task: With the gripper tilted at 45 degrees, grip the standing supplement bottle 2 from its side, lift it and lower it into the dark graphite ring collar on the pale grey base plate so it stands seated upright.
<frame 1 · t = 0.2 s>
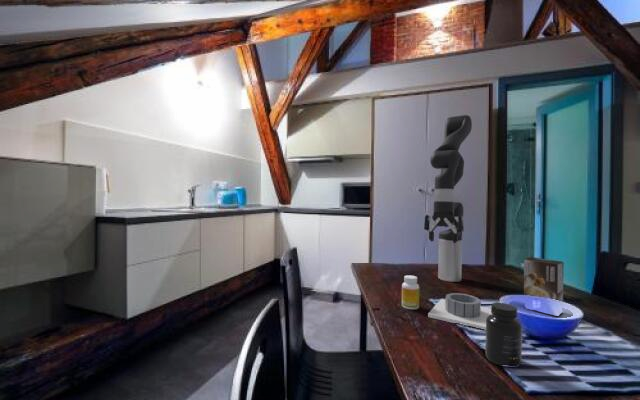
hand: (443, 242, 118), 18 cm above the table, tool pointing down, fingers open, 8 cm apart
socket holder: (462, 314, 91), on the table
coffee box: (542, 311, 95), on the table
supplement bottle 2: (410, 307, 97), on the table
supplement bottle: (502, 361, 66), on the table
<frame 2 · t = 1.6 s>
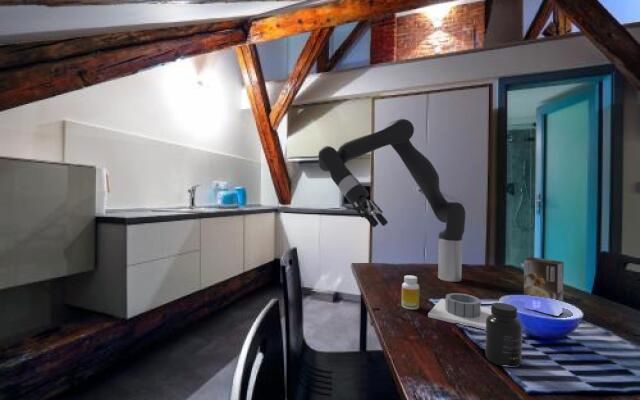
hand: (381, 224, 103), 26 cm above the table, tool tilted 45°, fingers open, 8 cm apart
nothing on the table moved.
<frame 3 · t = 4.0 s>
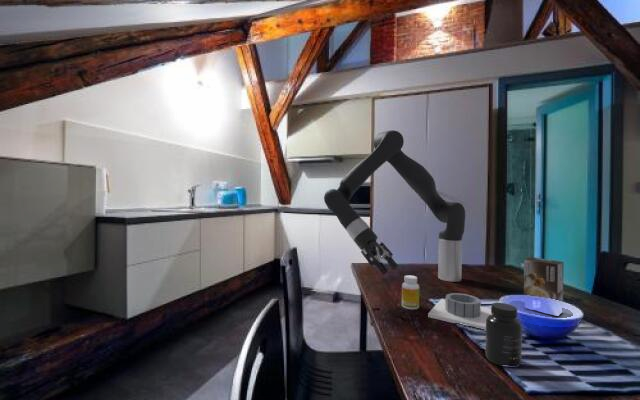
hand: (391, 270, 101), 11 cm above the table, tool tilted 45°, fingers open, 8 cm apart
nothing on the table moved.
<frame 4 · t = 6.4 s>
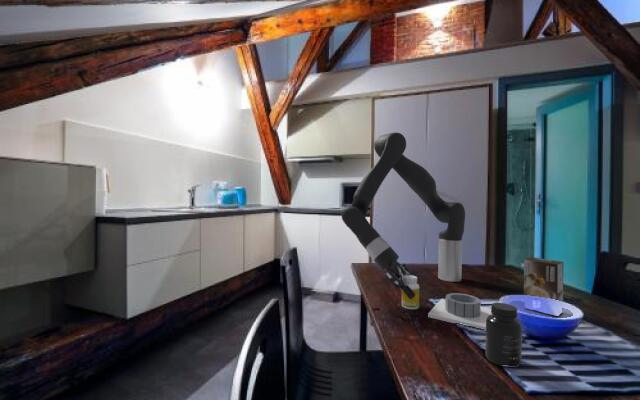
hand: (416, 294, 96), 4 cm above the table, tool tilted 45°, fingers closed on supplement bottle 2, 5 cm apart
supplement bottle 2: (410, 307, 97), on the table, touching gripper
everything else where it was.
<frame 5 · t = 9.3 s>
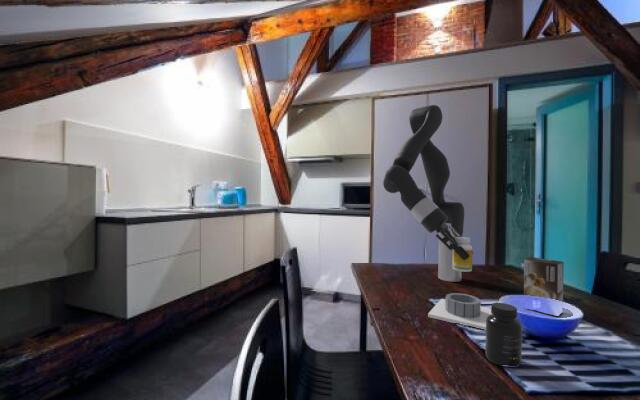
hand: (469, 256, 90), 18 cm above the table, tool tilted 45°, fingers closed on supplement bottle 2, 5 cm apart
supplement bottle 2: (462, 270, 91), point 13 cm above the table, touching gripper
everything else where it was.
when the fingers open (6 cm above the table, at t = 12.5 s): supplement bottle 2 drops 1 cm, resting on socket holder.
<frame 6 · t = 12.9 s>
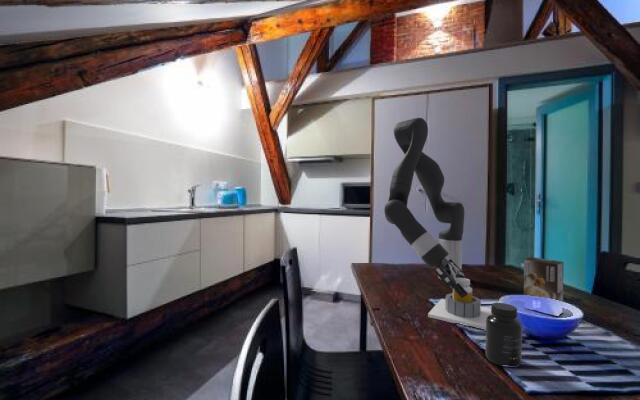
hand: (467, 292, 90), 7 cm above the table, tool tilted 45°, fingers open, 8 cm apart
supplement bottle 2: (462, 311, 91), point 1 cm above the table, touching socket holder
everything else where it was.
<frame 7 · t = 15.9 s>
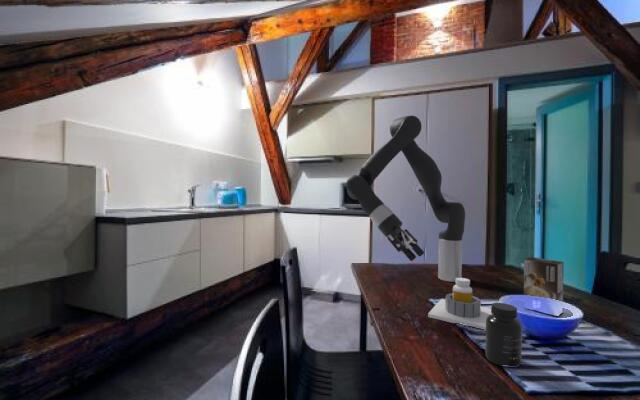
hand: (418, 257, 99), 16 cm above the table, tool tilted 45°, fingers open, 8 cm apart
nothing on the table moved.
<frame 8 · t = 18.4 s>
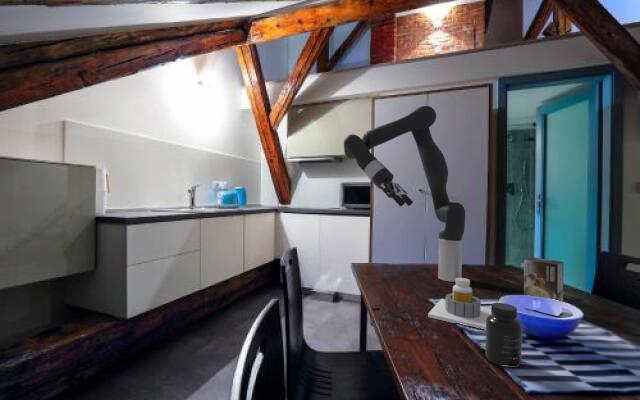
hand: (407, 204, 110), 33 cm above the table, tool tilted 45°, fingers open, 8 cm apart
nothing on the table moved.
at the end: supplement bottle 2 0.2 cm from the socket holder (horizontally); supplement bottle 2 tilted 0°; supplement bottle 2 point 0.8 cm above the table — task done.
